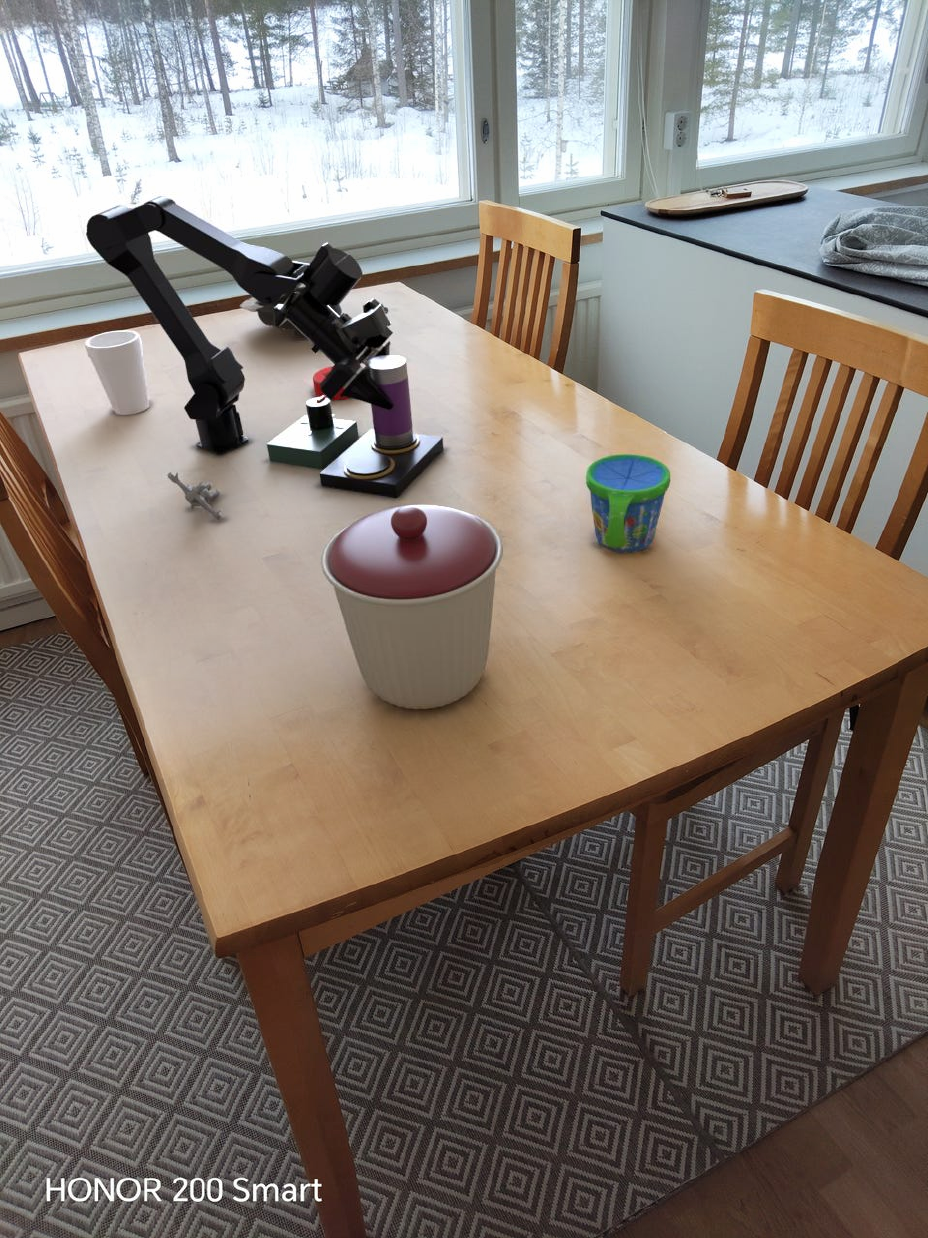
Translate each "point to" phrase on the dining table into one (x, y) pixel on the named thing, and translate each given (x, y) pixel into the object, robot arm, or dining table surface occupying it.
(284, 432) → the control box
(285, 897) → the dining table surface
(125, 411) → the foam cup
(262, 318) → the stone bowl
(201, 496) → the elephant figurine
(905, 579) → the dining table surface
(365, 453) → the hob
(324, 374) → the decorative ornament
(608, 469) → the snack cup
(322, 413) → the hob knob
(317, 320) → the robot arm
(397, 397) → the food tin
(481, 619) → the canister
